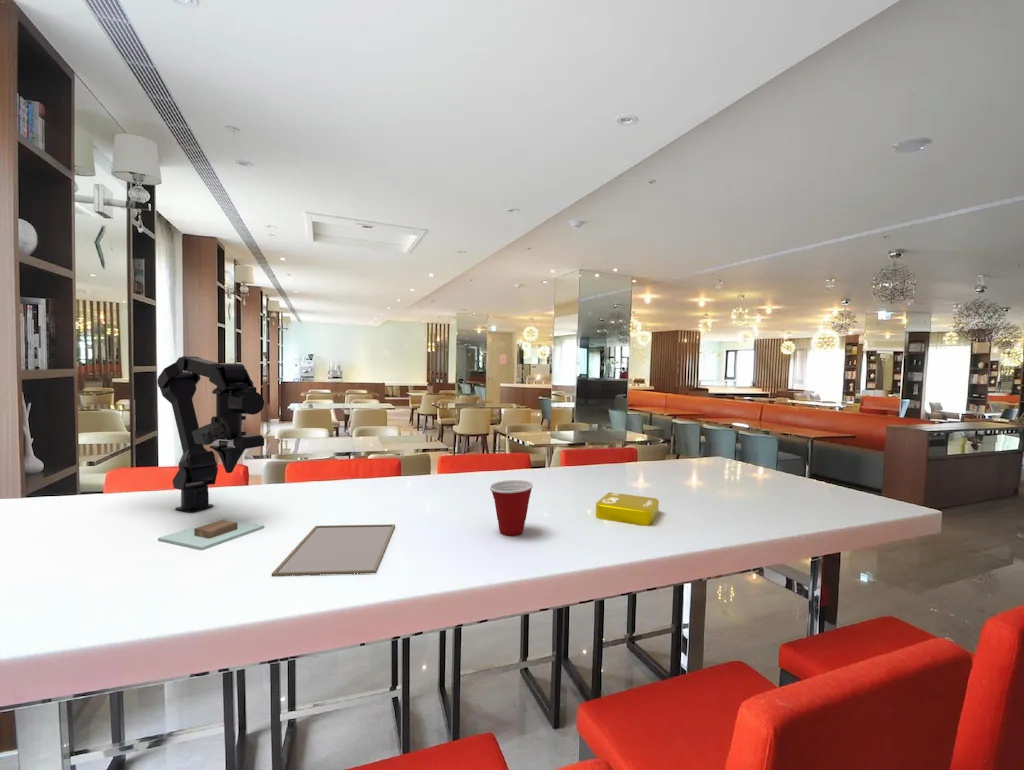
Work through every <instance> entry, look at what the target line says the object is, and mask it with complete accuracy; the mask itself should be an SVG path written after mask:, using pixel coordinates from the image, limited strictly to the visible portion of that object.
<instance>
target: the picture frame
mask: <svg viewBox="0 0 1024 770" xmlns="http://www.w3.org/2000/svg"><path fill="white" fill-rule="evenodd" d="M395 529H396V524H342V525H340V524H339V525H337V524H335V525H333V524H332V525H315V526H314V527H313V528H312V529H311V531H310V532H308V533H307V535H305V537H304V538H303V539H302V540H301V541H300V542H299V543H298V544H297V546H296V547H295V548H294V549H292V550H291V552H290V553H289V554H288V555H287V556H286V557H285V558H284V560H283V561H282V562H281V563H280V564H279V565H278V566H277V567H276V568H275V570H274V571H272V572H271V577H299V576H302V575H303V576H304V575H305V576H306V575H307V576H308V575H310V576H323V575H322V574H352V575H363V574H362V573H377V571H378V569H379V567H380V564H381V562H382V560H383V557H384V555H385V552H386V549H387V547H388V544H389V542H390V540H391V538H392V535H393V533H394V531H395ZM381 559H382V560H381ZM378 566H379V567H378ZM377 568H378V569H377ZM354 573H355V574H354ZM357 573H358V574H357ZM360 573H361V574H360ZM320 574H321V575H320ZM292 575H293V576H292ZM294 575H295V576H294ZM303 576H302V577H303ZM305 576H304V577H305Z"/></svg>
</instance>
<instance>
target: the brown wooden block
mask: <svg viewBox="0 0 1024 770" xmlns="http://www.w3.org/2000/svg"><path fill="white" fill-rule="evenodd" d="M236 529H237V522H231V521H226V520H220V521H217V522H214V523H211V524H207V525H204V526H201V527H198V528H194V535H197V536H202V537H207V538H212V537H215V536H218V535H221V534H224V533H227V532H230V531H233V530H236Z"/></svg>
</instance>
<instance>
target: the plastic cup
mask: <svg viewBox="0 0 1024 770" xmlns="http://www.w3.org/2000/svg"><path fill="white" fill-rule="evenodd" d="M533 487H534V483H533V482H531V481H529V480H522V479H510V480H509V479H508V480H507V479H505V480H501V481H497V482H494V483H491V484H490V485H489V490H490V491H491V493H492V496H493V500H494V506H495V511H496V512H495V513H496V519H497V522H498V523H497V524H498V531H499V533H500V534H501V535H503V536H508V537H517V536H520V535H522V534H523V533H524V529H525V523H526V520H527V514H528V509H529V503H530V498H531V493H532V489H533Z"/></svg>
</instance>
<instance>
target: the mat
mask: <svg viewBox="0 0 1024 770" xmlns="http://www.w3.org/2000/svg"><path fill="white" fill-rule="evenodd" d="M220 520H226V521H231V522H237V529H236V530H233V531H230V532H227V533H224V534H221V535H218V536H215V537H212V538H207V537H202V536H197V535H194V528H198V527H201V526H204V525H207V524H211V523H214V522H217V521H220ZM262 529H265V524H259V523H253V522H247V521H243V520H236V519H230V518H226V517H222V518H219V519H215V520H211V521H209V522H206V523H203V524H202V523H201V524H199V525H196V526H193V527H188V528H186V529H183V530H179V531H177V532H173V533H169V534H166V535H163V536H159V537H157V541H159V542H164V543H167V544H172V545H178V546H182V547H186V548H189V549H190V548H192V549H196V550H201V551H203V550H206V549H209V548H212V547H215V546H217V545H220V544H223V543H225V542H228V541H232V540H234V539H237V538H239V537H243V536H245V535H248V534H251V533H254V532H257V531H260V530H262Z"/></svg>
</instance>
